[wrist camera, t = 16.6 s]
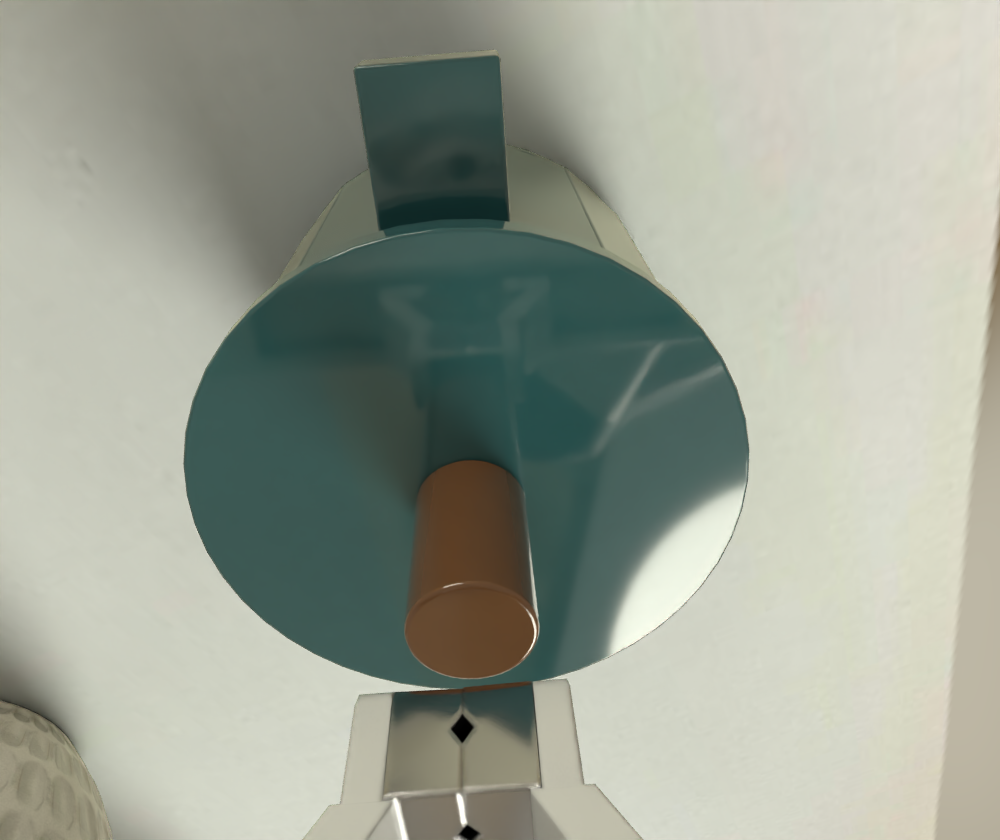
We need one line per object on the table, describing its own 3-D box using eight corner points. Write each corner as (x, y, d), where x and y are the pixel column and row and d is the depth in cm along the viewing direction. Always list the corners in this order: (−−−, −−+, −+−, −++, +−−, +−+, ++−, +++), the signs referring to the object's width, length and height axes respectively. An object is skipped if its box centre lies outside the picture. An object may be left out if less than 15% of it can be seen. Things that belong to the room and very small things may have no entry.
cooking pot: (649, 9, 19) (762, 38, 12) (634, 512, 27) (695, 712, 20) (232, 43, 19) (86, 92, 12) (343, 534, 27) (298, 743, 20)
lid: (759, 182, 13) (885, 277, 9) (711, 633, 19) (777, 812, 15) (125, 234, 13) (-22, 351, 9) (269, 668, 19) (217, 855, 15)
